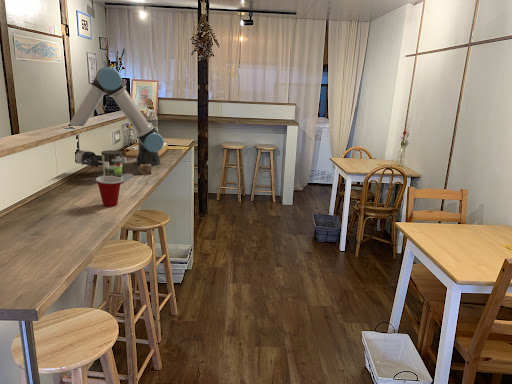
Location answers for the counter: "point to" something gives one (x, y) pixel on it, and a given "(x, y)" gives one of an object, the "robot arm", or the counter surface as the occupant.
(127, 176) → the mat
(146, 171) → the walnut block
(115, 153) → the coffee can
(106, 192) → the plastic cup
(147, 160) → the robot arm
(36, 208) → the counter surface
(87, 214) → the counter surface
